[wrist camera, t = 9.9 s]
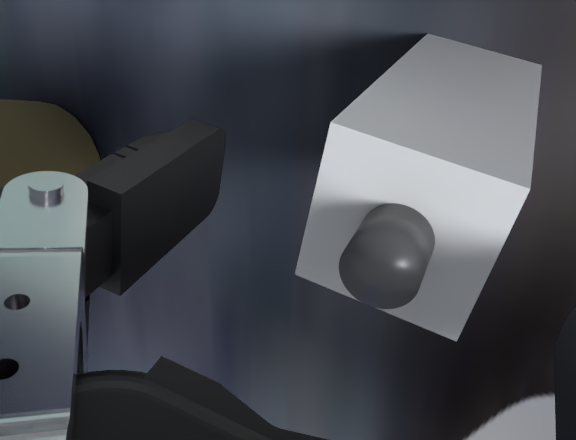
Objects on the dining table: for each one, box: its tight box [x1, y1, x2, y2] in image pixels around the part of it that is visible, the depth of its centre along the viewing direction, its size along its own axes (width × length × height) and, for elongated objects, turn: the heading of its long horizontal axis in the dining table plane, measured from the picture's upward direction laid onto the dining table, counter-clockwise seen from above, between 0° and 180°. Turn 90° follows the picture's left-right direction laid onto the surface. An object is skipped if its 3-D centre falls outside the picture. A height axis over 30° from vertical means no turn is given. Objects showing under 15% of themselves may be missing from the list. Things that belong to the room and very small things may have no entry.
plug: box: [295, 34, 542, 342], centre depth 15 cm, size 4×4×12 cm
